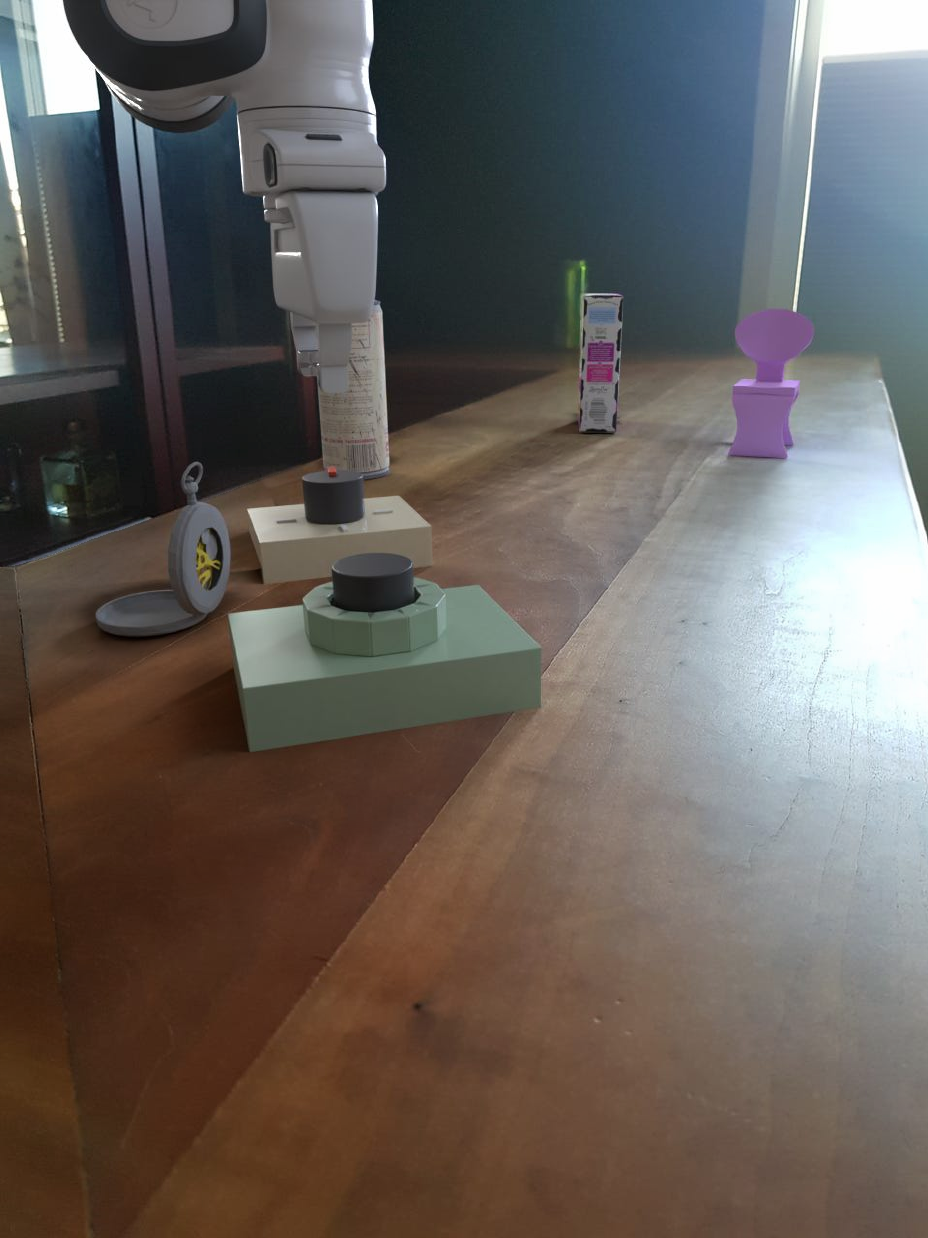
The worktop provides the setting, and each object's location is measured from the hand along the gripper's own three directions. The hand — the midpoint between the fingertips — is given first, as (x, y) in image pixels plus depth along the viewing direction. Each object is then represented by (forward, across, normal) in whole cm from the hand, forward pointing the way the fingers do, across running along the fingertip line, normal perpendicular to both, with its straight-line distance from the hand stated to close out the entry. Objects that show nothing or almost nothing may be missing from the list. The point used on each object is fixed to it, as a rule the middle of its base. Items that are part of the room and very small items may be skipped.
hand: (321, 383), depth 67 cm
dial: (+10, +1, 0) cm, 10 cm away
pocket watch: (+13, +11, -12) cm, 21 cm away
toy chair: (+12, -23, +53) cm, 59 cm away
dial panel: (+13, +1, 0) cm, 13 cm away
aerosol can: (+13, -28, +8) cm, 32 cm away
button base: (+12, +25, -2) cm, 28 cm away
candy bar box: (+13, -45, +43) cm, 63 cm away
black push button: (+8, +25, -2) cm, 26 cm away
